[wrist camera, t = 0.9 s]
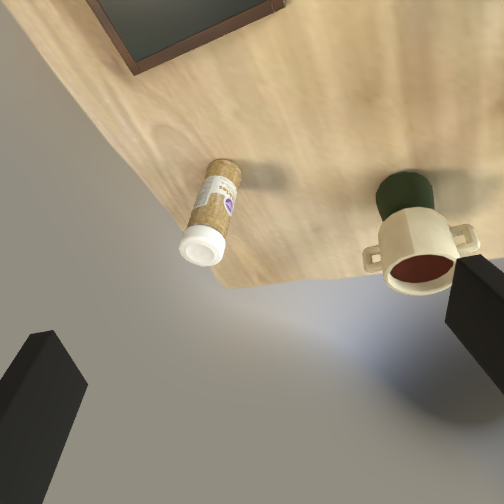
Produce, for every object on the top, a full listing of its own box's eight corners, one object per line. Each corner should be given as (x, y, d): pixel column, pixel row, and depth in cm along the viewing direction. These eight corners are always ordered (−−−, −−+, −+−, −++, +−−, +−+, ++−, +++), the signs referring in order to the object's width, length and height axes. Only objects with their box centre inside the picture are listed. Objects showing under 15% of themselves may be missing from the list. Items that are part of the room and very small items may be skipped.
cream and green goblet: (365, 221, 46) (375, 304, 38) (348, 183, 42) (355, 266, 34) (456, 197, 41) (490, 285, 33) (447, 150, 37) (485, 238, 29)
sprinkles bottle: (249, 177, 43) (231, 259, 35) (222, 192, 46) (199, 272, 37) (225, 151, 41) (200, 232, 32) (198, 168, 43) (168, 248, 34)
